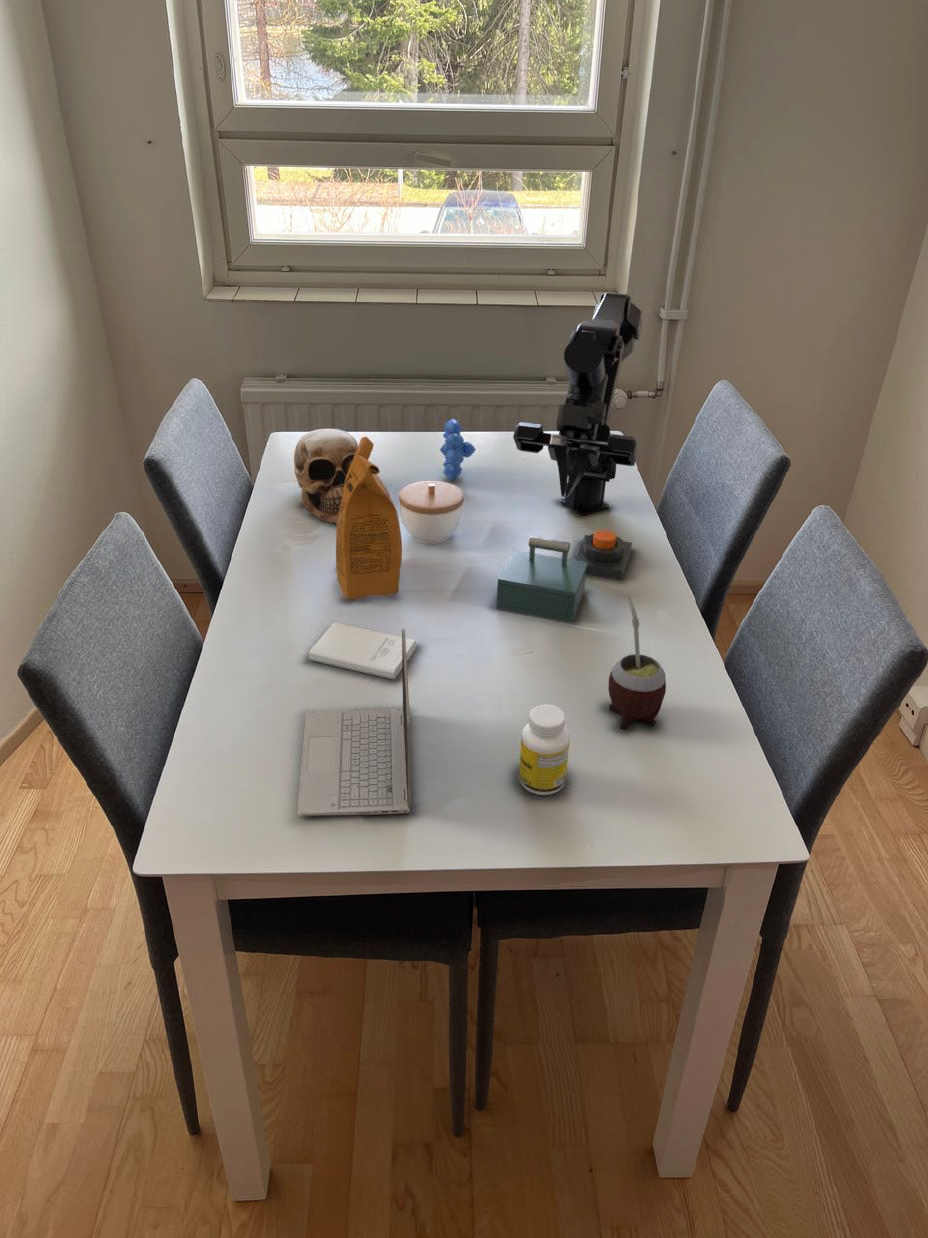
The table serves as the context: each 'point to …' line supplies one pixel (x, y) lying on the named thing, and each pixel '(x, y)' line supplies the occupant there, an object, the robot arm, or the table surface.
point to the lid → (544, 569)
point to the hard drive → (361, 650)
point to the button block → (604, 558)
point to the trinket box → (431, 510)
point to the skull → (324, 470)
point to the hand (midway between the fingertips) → (564, 496)
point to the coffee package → (367, 532)
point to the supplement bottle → (544, 751)
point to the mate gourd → (636, 684)
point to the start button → (604, 539)
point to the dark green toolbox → (539, 601)
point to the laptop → (357, 760)
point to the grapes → (454, 449)
